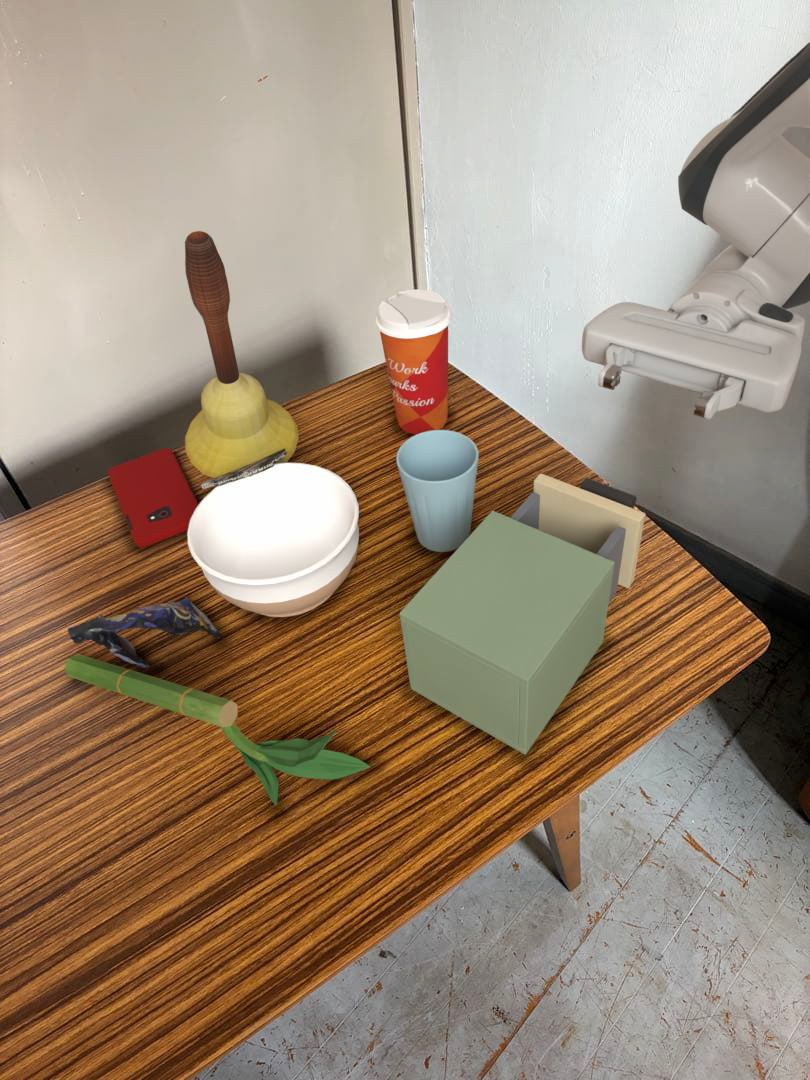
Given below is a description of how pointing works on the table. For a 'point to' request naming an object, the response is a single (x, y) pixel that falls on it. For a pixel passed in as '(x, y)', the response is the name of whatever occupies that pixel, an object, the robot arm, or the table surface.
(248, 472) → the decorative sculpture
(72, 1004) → the table surface
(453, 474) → the cup
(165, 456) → the cell phone
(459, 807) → the table surface
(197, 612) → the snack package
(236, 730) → the decorative plant
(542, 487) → the beige drawer
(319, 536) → the bowl
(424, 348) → the coffee cup
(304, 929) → the table surface
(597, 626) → the cabinet
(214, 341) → the handbell
